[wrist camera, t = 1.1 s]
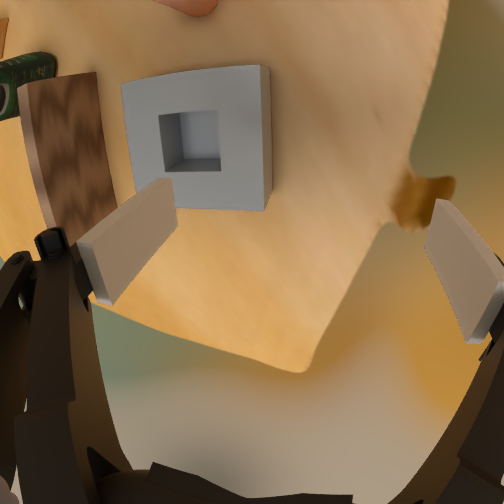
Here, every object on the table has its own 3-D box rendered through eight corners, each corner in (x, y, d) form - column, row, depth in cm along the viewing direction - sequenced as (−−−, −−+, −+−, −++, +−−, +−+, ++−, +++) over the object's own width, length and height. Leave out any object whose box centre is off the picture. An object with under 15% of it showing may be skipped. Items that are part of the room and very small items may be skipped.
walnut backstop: (85, 75, 30) (17, 88, 20) (95, 72, 29) (26, 83, 19) (107, 208, 40) (55, 251, 30) (117, 208, 40) (65, 252, 30)
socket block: (149, 80, 29) (120, 83, 24) (269, 67, 27) (259, 64, 22) (162, 188, 37) (139, 207, 32) (272, 189, 34) (264, 211, 29)
